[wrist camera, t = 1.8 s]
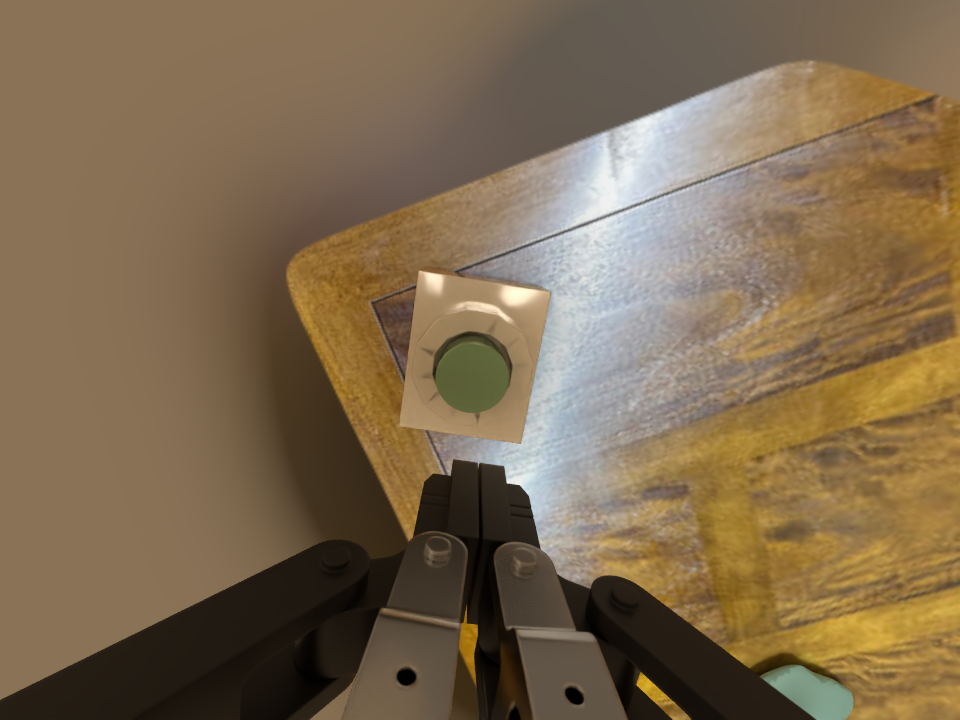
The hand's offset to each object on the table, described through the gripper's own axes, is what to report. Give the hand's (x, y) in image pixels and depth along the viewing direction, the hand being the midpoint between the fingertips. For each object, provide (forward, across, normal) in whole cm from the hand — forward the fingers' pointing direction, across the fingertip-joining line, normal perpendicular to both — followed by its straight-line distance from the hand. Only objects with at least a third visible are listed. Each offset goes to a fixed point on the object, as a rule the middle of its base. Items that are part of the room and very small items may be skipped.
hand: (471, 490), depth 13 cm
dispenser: (+19, 0, 0) cm, 19 cm away
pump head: (+13, 0, 0) cm, 13 cm away
